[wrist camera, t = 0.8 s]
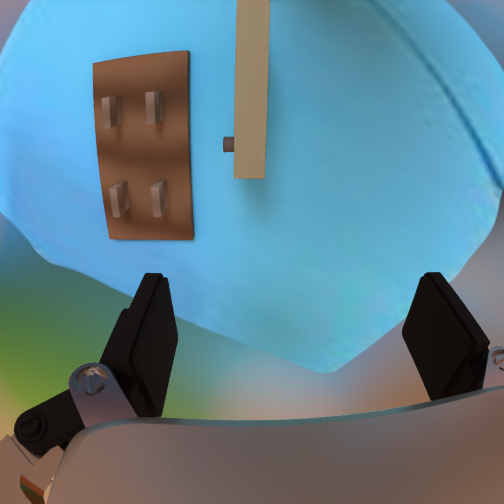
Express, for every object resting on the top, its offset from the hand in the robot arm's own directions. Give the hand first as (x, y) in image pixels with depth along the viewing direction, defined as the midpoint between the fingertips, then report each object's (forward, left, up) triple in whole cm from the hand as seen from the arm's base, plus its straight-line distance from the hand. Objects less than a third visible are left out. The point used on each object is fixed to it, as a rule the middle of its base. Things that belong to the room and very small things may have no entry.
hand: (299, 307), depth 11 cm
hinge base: (-1, -13, -23) cm, 27 cm away
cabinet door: (-7, -2, -24) cm, 25 cm away
